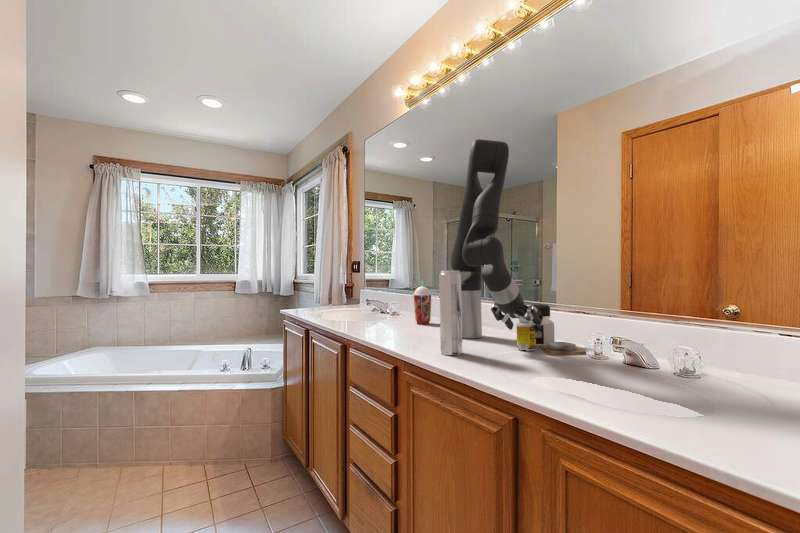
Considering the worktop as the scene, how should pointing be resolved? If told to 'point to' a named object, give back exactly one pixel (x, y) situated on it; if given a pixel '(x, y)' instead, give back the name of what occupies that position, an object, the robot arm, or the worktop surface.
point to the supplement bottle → (526, 336)
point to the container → (545, 326)
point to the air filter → (450, 312)
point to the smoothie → (422, 304)
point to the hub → (561, 348)
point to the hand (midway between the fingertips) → (524, 328)
